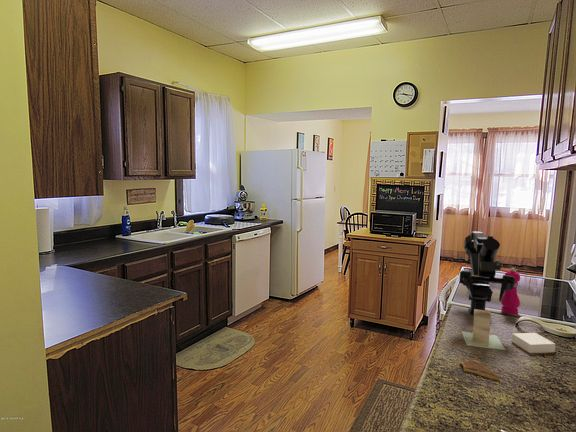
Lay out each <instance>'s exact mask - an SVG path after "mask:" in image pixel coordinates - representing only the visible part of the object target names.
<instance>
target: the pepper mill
mask: <svg viewBox="0 0 576 432" xmlns="http://www.w3.org/2000/svg"><path fill="white" fill-rule="evenodd" d="M504 275H508V276H514V278H515V284H514V288H513V289H510V290H509V291H506V292H505V293H504V295H503V297H502V299H501V302H500V303H501V305H502V306H501V312H502V313H505V314H508V315H517V314H518V313H519V309H518V308H519V307H520V306H521V301H520V297H519V295H518V291H517V290H518V287H519V281H521V275H520V274H519V273H518V272H517V271H516V268H515V267H511V268H510V270H508V271H506V272H505V273H504Z"/></svg>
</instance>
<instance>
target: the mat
mask: <svg viewBox="0 0 576 432" xmlns="http://www.w3.org/2000/svg"><path fill="white" fill-rule="evenodd" d="M461 335H462V336H463V339H464V341H465V344H466V346H468V347H476V348H484V349H492V350H499V351H500V350H501V351H506V348H505V346H504V345H503V344H502V342H501V340H500V338H499V337H498V336H497V334H496V335H495V334H489V346H485V345H480V344H474V343H473V339H472V337H473V331H472V332H469V331H463V330H462V331H461Z"/></svg>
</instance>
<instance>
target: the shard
mask: <svg viewBox="0 0 576 432" xmlns="http://www.w3.org/2000/svg"><path fill="white" fill-rule="evenodd" d="M459 363H460V365H462V367H463V371H464V372H466V373H472V374H475V375H479V376H481V377H484V378H488V379H491V380H495V381H500V380H501V379H502V377H500V375H498V374H496V373H495V371H493V370H492V369H491V368H489V367H488V366H487V365H485V364H484V363H483V362H481V361H479V360H474V359H460V360H459Z"/></svg>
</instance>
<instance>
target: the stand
mask: <svg viewBox="0 0 576 432" xmlns="http://www.w3.org/2000/svg"><path fill="white" fill-rule="evenodd" d="M511 343H514V344H515V345H517V346H518V347H520V348H521V349H523V350H524V351H526V352H528V354H544V353H555V352H556V343H554V342H553V341H551V340H550V339H547V338H546V337H544V336H542V335H540V334H538V333H537V332H519V333H517V332H515V333H512V334H511Z"/></svg>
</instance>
